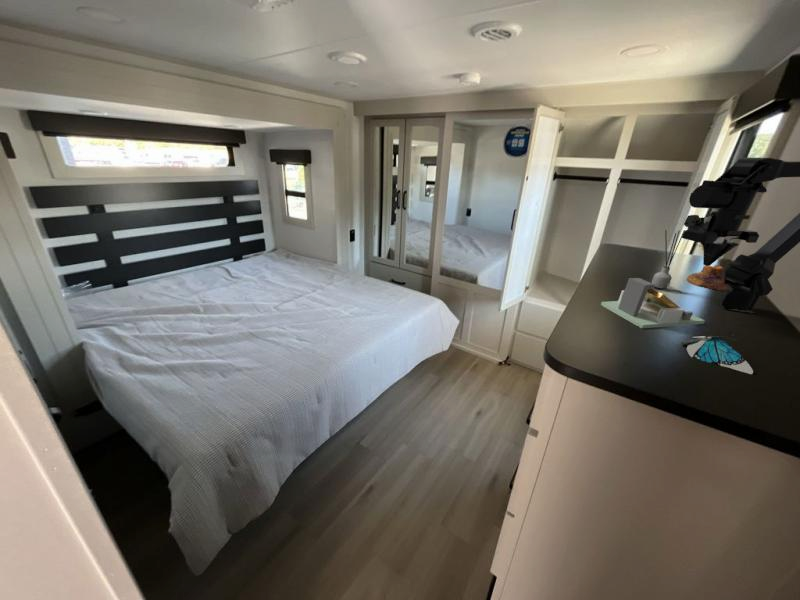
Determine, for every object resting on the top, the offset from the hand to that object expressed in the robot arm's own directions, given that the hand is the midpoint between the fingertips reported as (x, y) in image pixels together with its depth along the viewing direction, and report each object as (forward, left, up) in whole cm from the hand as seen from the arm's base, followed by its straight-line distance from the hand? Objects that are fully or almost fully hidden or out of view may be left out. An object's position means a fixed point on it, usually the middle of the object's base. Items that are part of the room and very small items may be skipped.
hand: (706, 265), depth 90 cm
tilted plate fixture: (+12, +13, -13) cm, 22 cm away
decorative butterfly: (+4, +31, -14) cm, 35 cm away
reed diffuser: (+5, -15, -13) cm, 21 cm away
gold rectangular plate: (+8, +10, -11) cm, 16 cm away
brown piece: (-13, -29, -14) cm, 34 cm away
